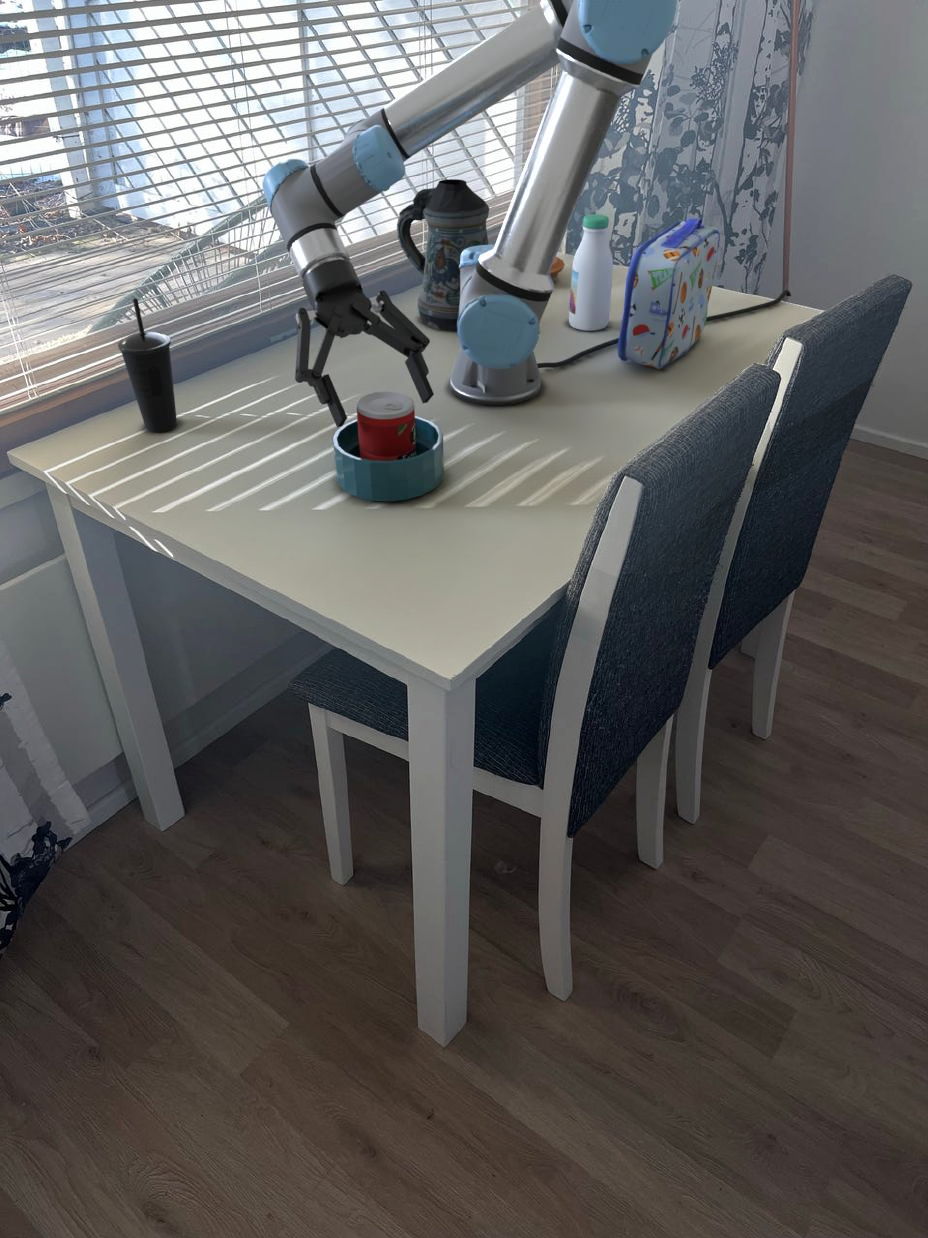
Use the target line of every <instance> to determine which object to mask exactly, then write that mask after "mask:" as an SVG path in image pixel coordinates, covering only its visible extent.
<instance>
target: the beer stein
mask: <svg viewBox="0 0 928 1238" xmlns="http://www.w3.org/2000/svg"><path fill="white" fill-rule="evenodd" d="M489 215H490V207H489V205H488V203H487V202H486V201H485V199H483V198H482V197H481V196H479V195H478V194H476V192H475V191H473V190H472V188H470V187H469V185H468V184H467V181H466V180H463V179H458V178H455V179H453V178H450V179H441V180H439V181H438V183H437V185H436V186H435V187H432V188H423V189H421V190H418V192H417V193H416V194H415V196H414V198H413V199H412V203H410V204H409V205H407V206H405V207H404V208H403V209H401V211H400V212H399V214H398V219H397V223H396V235H397V240H398V243H399V245H400V248H401V249H402V251H403V253H404V255H405V256H406V258H407V259H408V261H409V262H410V263H411V264H412V265H413V267H414V268H415V269H416V270H417V271H418V272H419V273H420V274H422V275H423V280H422V285H421V289H420V293H419V296H418V299H417V310H418V313H419V317H420V320H421V323H422V324H424V325H425V326H427V327H428V328H432V329H436V330H438V331H446V332H457V320H458V317H459V305H460V269H459V265H460V258H461V253H462V252H463V251H464V250H465V249H466V248H469V247H473V246H480V245H489V237H488V230H487V221H488V218H489ZM424 220H425V221H426V223H427V236H426V237H427V238H426V248H425V256H424V255H423V253H422V252H421V251H420V250H419V249H418V247H417V246H416V243H415V242H414V239H413V238H412V235H411V227H412V224H413V222H414V221H416V222H417V221H419V222H421V221H424Z"/></svg>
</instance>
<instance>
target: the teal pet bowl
mask: <svg viewBox="0 0 928 1238" xmlns="http://www.w3.org/2000/svg"><path fill="white" fill-rule="evenodd" d="M415 435H416V456H414V457H410V458H407V459H401V460H392V461H378V460H368V459H363V458H360V446H359V434H358V422H357V418H356V419H353V420H351V421H350V422H347V423H344V424H343V426H341V427H339V428H338V429H337V430H335V433H334V435H333V437H332V449H333V457H334V468H335V477H336V481H337V485H338V486H339V487H340V488H341V489H342V490H343V491H344V492H345V493H347V494H350V495H351V496H354V497H356V498H359V499H364V500H368V501H373V502H398V501H404V500H405V501H406V500H410V499H413V498H417V497H420V496H424V495H425V494H427V493H429V492H431V491H432V490H434V489H436V488H437V487H438V486H439V485H440V483H441V482H442V481H443V479H444V474H445V458H444V434H443V432H442V430H441V428H440V427H439V426H438V425H437V424H435V423H434V422H433V421H431V420H428V419H425V418H423V417H421V416H417V415H415Z"/></svg>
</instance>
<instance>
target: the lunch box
mask: <svg viewBox="0 0 928 1238" xmlns="http://www.w3.org/2000/svg"><path fill="white" fill-rule="evenodd" d="M702 223H703V218H702V217H699V218H688V219H686V221H676V222H674V223H673V224H672V225H671V226H669V227H668V228H666V229H665V230H663V231H661V232H660V233H657V234H656V235H655V236H653V237H652V238H650V239H648V240H647V241H645V242H644V243H642V244H640V246H639V247H638V248H637V249H636V250H635V252H634V253H633V255H632V257H631V260H630V262H629V267H628V271H627V275H626V278H625V279H626V280H625V287H624V288H625V289H624V300H623V301H624V302H623V310H622V317H621V326H620V331H619V336H618V338H619V341H618V343H617V356H618V359H619V360H621V361H622V362H627V361H630V362H632V363H636V364H639V365H642V366H646V367H651V368H654V369H658V370H659V369H663V368H664V367H665V366H667V365H669V364H671V363H673V362H674V361H676V360H677V359H678V358H680V357H682V356H684V355H685V354H687V353H689V350H690V349H691V348H692V347H693V346H694V345H695V344H696V343H697V341H699V339H700V338H701V336H702V334H703V332H704V329H705V326H706V323H707V322H706V318H707V317H708V310H709V302H710V297H711V293H712V291H713V290H712V289H713V284H714V281H715V280H714V279H715V275H716V269H717V264H718V253H719V249H720V248H719V247H720V241H721V235H720V231H719V229H718V228H716V227H712V226H705V225H704V224H703V225H702Z"/></svg>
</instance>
